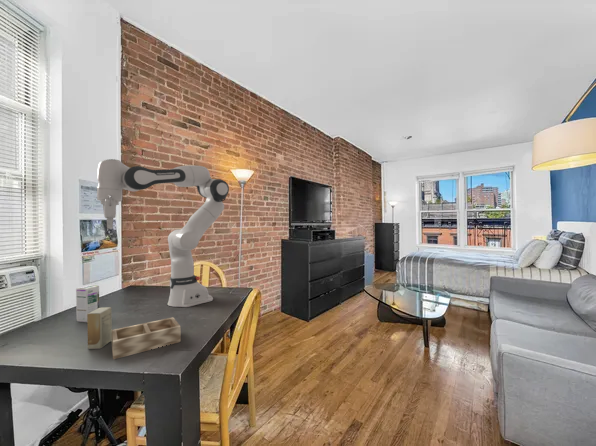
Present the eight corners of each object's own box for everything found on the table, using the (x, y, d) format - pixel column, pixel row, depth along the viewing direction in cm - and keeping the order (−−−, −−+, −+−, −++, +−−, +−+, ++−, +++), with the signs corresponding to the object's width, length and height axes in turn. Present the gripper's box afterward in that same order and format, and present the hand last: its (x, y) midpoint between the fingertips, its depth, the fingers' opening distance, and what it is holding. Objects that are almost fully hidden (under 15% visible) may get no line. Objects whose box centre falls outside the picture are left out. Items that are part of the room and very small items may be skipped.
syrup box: (86, 322, 110) (87, 288, 110) (75, 321, 111) (75, 287, 111) (99, 317, 115) (99, 285, 115) (89, 316, 117) (89, 284, 117)
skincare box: (99, 341, 93) (99, 307, 93) (112, 340, 93) (112, 306, 93) (86, 349, 86) (86, 313, 86) (100, 349, 87) (100, 312, 87)
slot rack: (173, 331, 101) (173, 317, 101) (180, 341, 92) (180, 326, 92) (111, 345, 89) (111, 329, 89) (113, 359, 80) (113, 341, 80)
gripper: (120, 195, 105) (119, 228, 105) (117, 199, 122) (117, 228, 122) (100, 194, 102) (100, 229, 102) (101, 198, 118) (100, 228, 118)
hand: (109, 228), depth 112 cm, fingers open, 8 cm apart
